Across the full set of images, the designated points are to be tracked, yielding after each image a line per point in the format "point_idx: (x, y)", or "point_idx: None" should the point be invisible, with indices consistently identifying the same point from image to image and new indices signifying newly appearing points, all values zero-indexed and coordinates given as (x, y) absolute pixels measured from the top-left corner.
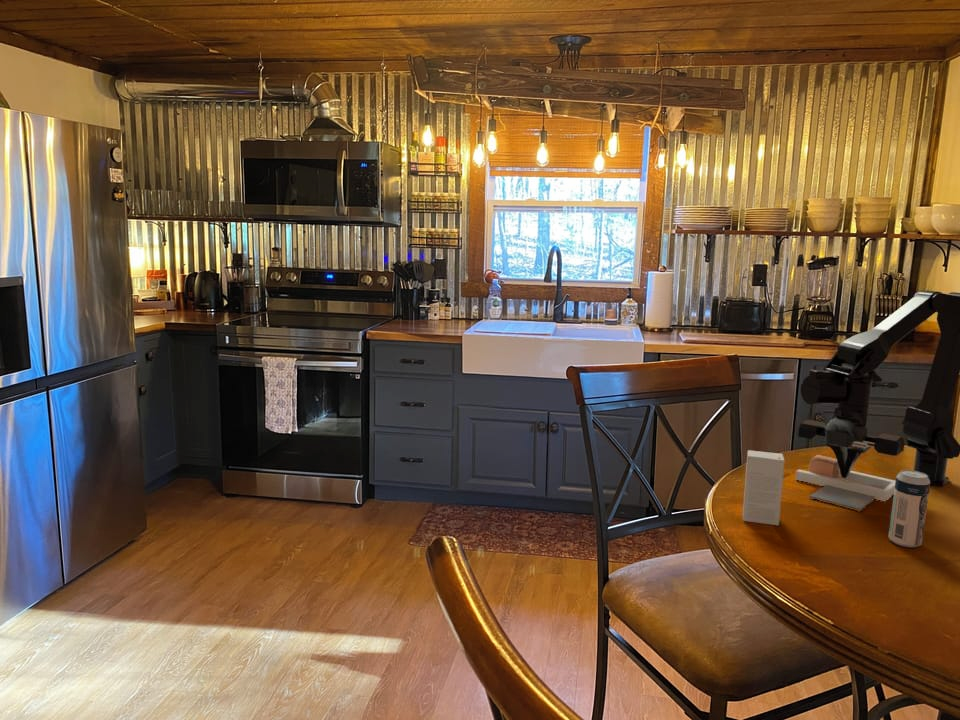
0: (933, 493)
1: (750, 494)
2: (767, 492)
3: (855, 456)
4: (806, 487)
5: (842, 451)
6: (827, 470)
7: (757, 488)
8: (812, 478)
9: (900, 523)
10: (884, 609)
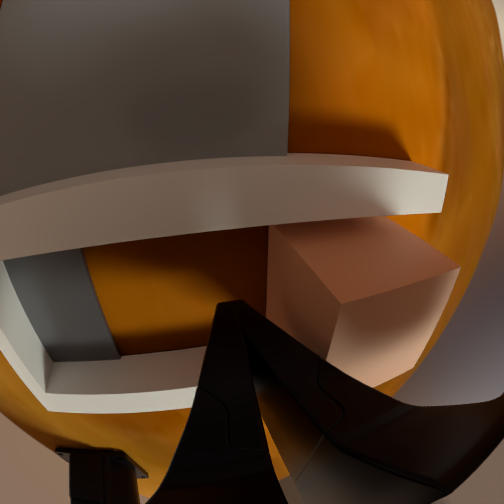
0: (21, 411)
1: None
2: None
3: (166, 480)
4: (357, 80)
5: (344, 465)
6: (341, 258)
7: None
8: (373, 162)
9: None
10: None
